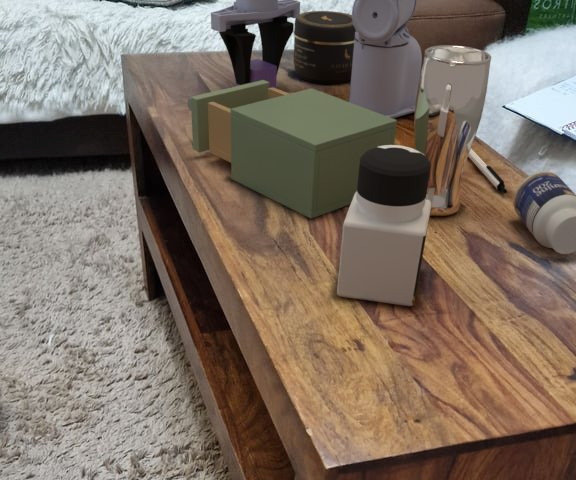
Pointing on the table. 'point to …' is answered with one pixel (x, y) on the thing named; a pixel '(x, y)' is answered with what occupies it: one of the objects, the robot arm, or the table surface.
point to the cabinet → (305, 148)
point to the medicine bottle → (386, 227)
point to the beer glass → (449, 117)
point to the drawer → (223, 114)
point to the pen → (487, 171)
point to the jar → (324, 46)
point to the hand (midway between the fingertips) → (256, 81)
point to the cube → (263, 72)
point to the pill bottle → (548, 210)
